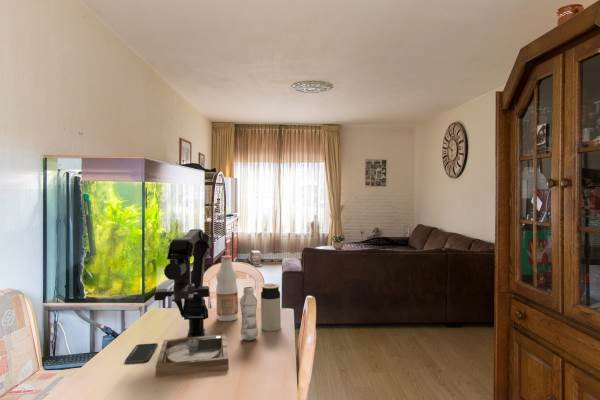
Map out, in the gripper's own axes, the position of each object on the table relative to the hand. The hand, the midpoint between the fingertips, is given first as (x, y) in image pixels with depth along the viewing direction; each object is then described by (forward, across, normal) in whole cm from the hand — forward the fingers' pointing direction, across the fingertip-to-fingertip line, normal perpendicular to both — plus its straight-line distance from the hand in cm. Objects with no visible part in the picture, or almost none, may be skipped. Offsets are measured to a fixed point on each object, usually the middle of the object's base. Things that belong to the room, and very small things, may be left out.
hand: (183, 316), depth 142 cm
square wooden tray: (+12, +4, -9) cm, 16 cm away
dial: (+10, +4, -9) cm, 14 cm away
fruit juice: (+12, +17, +32) cm, 38 cm away
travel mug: (+12, +34, +14) cm, 39 cm away
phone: (+13, -14, 0) cm, 19 cm away
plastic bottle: (+12, +24, +4) cm, 27 cm away
